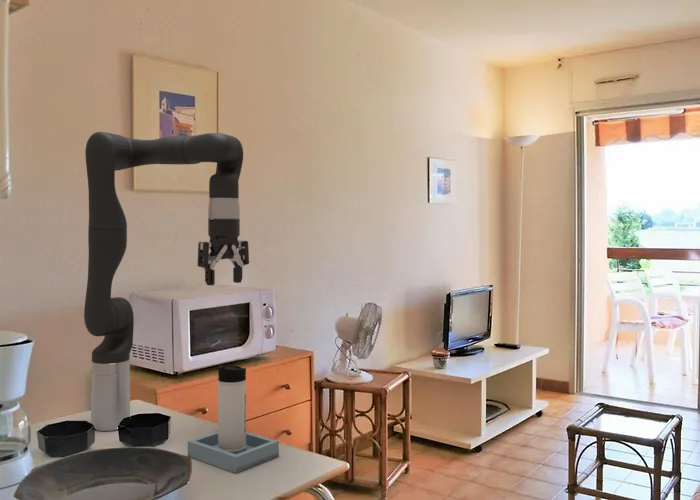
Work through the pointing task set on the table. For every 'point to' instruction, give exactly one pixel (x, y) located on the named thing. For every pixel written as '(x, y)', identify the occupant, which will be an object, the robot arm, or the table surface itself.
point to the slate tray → (255, 453)
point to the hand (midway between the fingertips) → (224, 283)
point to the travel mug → (232, 408)
